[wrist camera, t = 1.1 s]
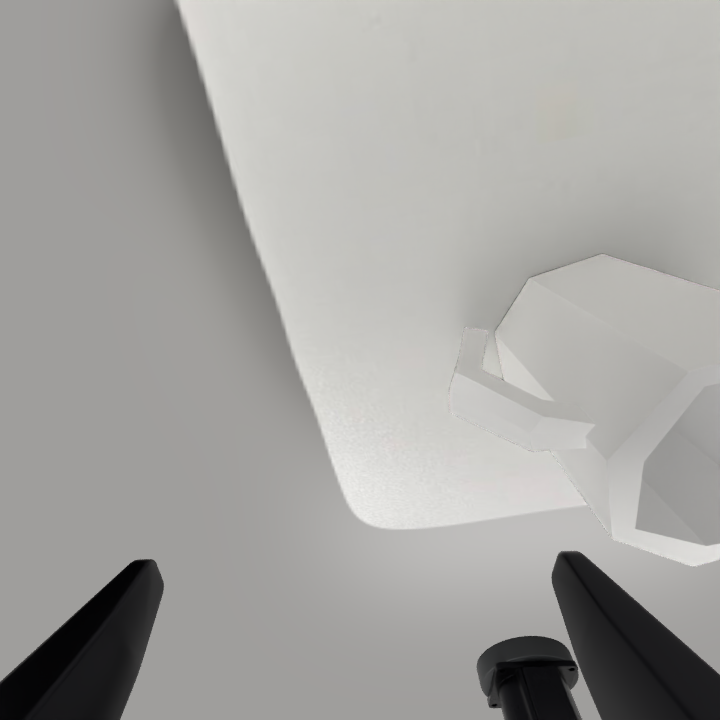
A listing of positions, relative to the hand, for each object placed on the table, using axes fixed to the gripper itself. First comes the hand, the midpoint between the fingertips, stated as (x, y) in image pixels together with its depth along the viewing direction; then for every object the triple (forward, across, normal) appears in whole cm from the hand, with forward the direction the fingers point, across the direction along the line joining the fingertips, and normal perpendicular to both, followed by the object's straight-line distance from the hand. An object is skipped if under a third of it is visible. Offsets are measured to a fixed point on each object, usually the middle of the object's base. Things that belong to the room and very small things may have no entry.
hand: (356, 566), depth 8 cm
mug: (+13, -9, 0) cm, 16 cm away
